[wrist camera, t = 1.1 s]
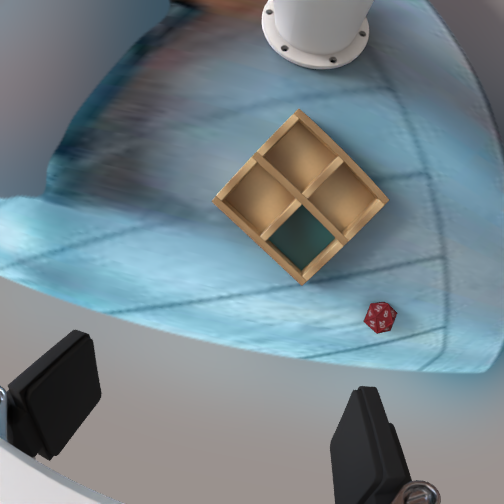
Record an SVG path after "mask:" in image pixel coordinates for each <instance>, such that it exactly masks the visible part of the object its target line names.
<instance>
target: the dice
mask: <svg viewBox="0 0 504 504" xmlns="http://www.w3.org/2000/svg"><path fill="white" fill-rule="evenodd" d="M396 315H397V312H396V311H395V310H394V309H393V308H392V307H391V306H390V305H389V304H388V303H385V302H379V303H371V304H370V306H369V309H368V312H367V314H366V317H365V319H364V321H363V322H364V323H366V324H367V325H368V326H369V327H370V328H371V329H372V330H373V331H374V332H376V333H377V334H378V333H382V332H387V331H391V328H392V325H393V323H394V320H395V318H396Z"/></svg>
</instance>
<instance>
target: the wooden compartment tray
mask: <svg viewBox="0 0 504 504" xmlns="http://www.w3.org/2000/svg"><path fill="white" fill-rule="evenodd" d="M388 201H389V199H388V198H387V197H386V195H385V194H384V193H383V192H382V191H381V190H380V189H379V188H378V186H377V185H376V184H375V183H374V182H373V181H372V180H371V179H370V178H369V177H368V175H367V174H366V173H365V172H364V171H363V170H362V169H361V168H360V167H359V166H358V165H357V164H356V163H355V162H354V161H353V160H352V159H351V158H350V157H349V156H348V155H347V154H346V153H345V151H344V150H343V149H342V148H341V147H340V146H338V145H337V144H336V143H335V142H334V141H333V140H332V139H331V138H330V137H329V136H328V135H327V134H326V133H325V132H324V131H323V130H322V129H321V128H320V127H319V126H318V125H317V124H316V123H314V122H313V121H312V120H311V119H310V118H309V117H308V116H307V115H306V114H305V113H304V112H302V111H301V110H300V109H298V110H297V111H296V112H295V113H294V114H293V115H292V116H291V117H290V118H289V119H288V120H287V121H286V122H285V123H284V124H283V125H282V126H281V127H280V128H279V129H278V130H277V131H276V132H275V133H274V134H273V135H272V136H271V137H270V138H269V139H268V140H267V141H266V142H265V143H264V144H263V146H262V147H261V148H260V149H259V150H258V151H257V152H256V153H255V154H254V155H253V156H252V157H251V158H250V159H249V160H248V161H247V162H246V164H245V165H244V166H243V167H242V168H241V169H240V170H239V171H238V172H237V173H236V174H235V175H234V177H233V178H232V179H231V180H230V181H229V182H228V183H227V184H226V185H225V186H224V188H223V189H222V190H221V191H220V192H219V193H218V194H217V195H216V196H215V198H214V199H213V200H212V202H213V203H214V204H215V205H216V206H217V207H218V208H219V209H220V210H221V211H222V212H223V213H225V214H226V215H227V216H228V217H229V218H230V219H231V220H232V221H233V222H234V223H235V224H236V225H237V226H238V227H240V228H241V229H242V230H243V231H244V232H245V233H246V234H247V235H248V236H249V237H250V238H251V239H252V240H253V241H255V242H256V243H257V244H258V245H259V246H260V247H261V248H262V249H263V250H264V251H265V252H266V253H267V254H268V255H270V256H271V257H272V258H273V259H274V260H275V261H276V262H277V263H278V264H279V265H280V266H281V267H282V268H283V269H284V270H286V271H287V272H288V273H289V274H290V275H291V276H292V277H293V278H294V279H295V280H296V281H297V282H298V283H299V284H300V285H301V286H302V285H303V284H305V283H306V282H307V281H308V280H309V279H310V278H311V277H312V276H313V275H314V274H315V273H316V272H317V271H318V270H320V269H321V268H322V267H323V266H324V265H325V264H326V263H327V262H328V261H329V260H330V259H331V258H332V257H333V256H334V255H335V254H336V253H337V252H338V251H339V250H340V249H341V248H342V247H343V246H344V245H345V244H346V243H347V242H348V241H350V240H351V239H352V238H353V237H354V236H355V235H356V234H357V233H358V232H359V231H360V230H361V229H362V228H363V227H364V226H365V225H366V224H367V223H368V222H369V221H370V220H371V219H372V218H373V216H374V215H375V214H376V213H377V212H378V211H379V210H380V209H381V208H382V207H383V206H384V205H385V204H386V203H387V202H388Z"/></svg>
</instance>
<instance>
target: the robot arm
mask: <svg viewBox="0 0 504 504" xmlns="http://www.w3.org/2000/svg"><path fill="white" fill-rule="evenodd" d="M373 2H374V0H269V1H268V2H267V4H266V5H265V7H264V10H263V13H262V28H263V32H264V35H265V37H266V39H267V41H268V43H269V44H270V46H271V47H272V48H273V49H274V50H275V51H276V52H277V53H278V54H279V55H281V56H282V57H283V58H285V59H287V60H288V61H290V62H292V63H294V64H297V65H299V66H303V67H307V68H311V69H333V68H337V67H341V66H343V65H346V64H348V63H350V62H351V61H353V60H354V59H356V58H357V57H358V56H359V55H360V53H361V52H362V51H363V49H364V48H365V46H366V44H367V41H368V38H369V24H368V21H367V18H366V15H367V13H368V11H369V9H370V7H371V5H372V3H373ZM268 14H272V15H268ZM360 35H362V36H363V37H362V36H360ZM283 50H287V51H286V52H284V51H283ZM330 61H334V63H331V62H330ZM8 387H9V390H8V391H7V392H6V391H5V389H4V388H2V387H1V386H0V504H125V503H122V502H120V501H117V500H115V499H112V498H110V497H107V496H105V495H103V494H101V493H98V492H96V491H94V490H91V489H89V488H87V487H85V486H83V485H81V484H79V483H77V482H75V481H73V480H71V479H69V478H67V477H65V476H63V475H61V474H59V473H57V472H56V471H54V470H52V469H50V468H48V467H47V466H45V465H43V464H42V463H39V462H38V461H36V460H35V456H36V455H37V453H38V454H39V455H41V456H42V457H44V458H46V459H47V460H49V461H50V460H51V459H52V457H53V456H57V455H58V454H59V453H60V452H61V451H62V449H63V448H64V447H65V445H66V444H67V443H68V441H69V440H70V439H71V437H72V436H73V435H74V433H75V432H76V430H77V429H78V428H79V427H80V425H81V424H82V422H83V421H84V420H85V419H86V418H87V416H88V415H89V414H90V412H91V411H92V410H93V408H94V407H95V406H96V404H97V403H98V402H99V400H100V398H101V388H100V383H99V377H98V371H97V365H96V358H95V352H94V345H93V340H92V339H90V336H89V334H87V333H84V332H81V331H78V330H73V331H72V332H70V333H69V334H68V335H67V336H66V337H64V338H63V339H62V340H61V341H60V342H58V343H57V344H56V345H55V346H53V347H52V348H51V349H50V350H49V351H47V352H46V353H45V354H44V355H43V356H41V357H40V358H39V359H38V360H37V361H35V362H34V363H33V364H32V365H31V366H30V367H28V368H27V369H26V370H25V371H24V372H23V373H21V374H20V375H19V376H18V377H17V378H16V379H14V380H13V381H12V382H11V383H10V384H9V385H8ZM330 453H331V463H332V473H333V484H334V496H335V504H440V502H441V497H440V494H439V491H438V490H437V489H436V487H435V486H433V485H432V484H430V483H429V482H425V481H418V480H416V481H412V480H411V476H410V473H409V470H408V467H407V463H406V460H405V457H404V454H403V451H402V448H401V445H400V442H399V439H398V436H397V433H396V430H395V427H394V425H393V424H392V423H389V422H388V419H387V416H386V413H385V410H384V407H383V404H382V402H381V399H380V396H379V393H378V390H377V388H376V387H365V386H360V387H359V388H358V390H353V392H352V394H351V396H350V399H349V401H348V404H347V406H346V408H345V411H344V413H343V415H342V418H341V420H340V422H339V424H338V427H337V429H336V431H335V433H334V435H333V438H332V440H331V444H330Z"/></svg>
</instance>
